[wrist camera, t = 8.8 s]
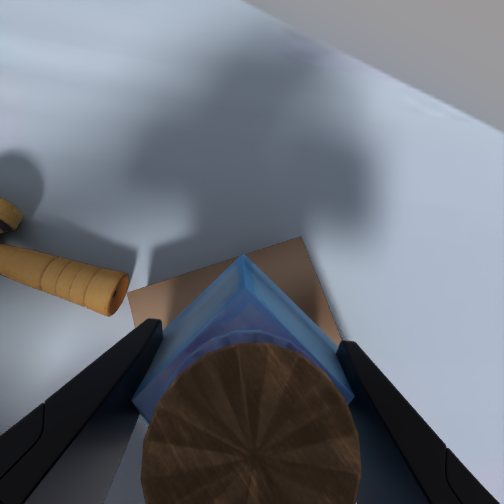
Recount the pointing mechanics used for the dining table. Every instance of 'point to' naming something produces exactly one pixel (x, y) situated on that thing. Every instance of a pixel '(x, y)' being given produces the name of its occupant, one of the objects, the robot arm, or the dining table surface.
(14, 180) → the dining table surface
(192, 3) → the dining table surface
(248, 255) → the walnut plinth
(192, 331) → the perfume bottle
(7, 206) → the kendama
